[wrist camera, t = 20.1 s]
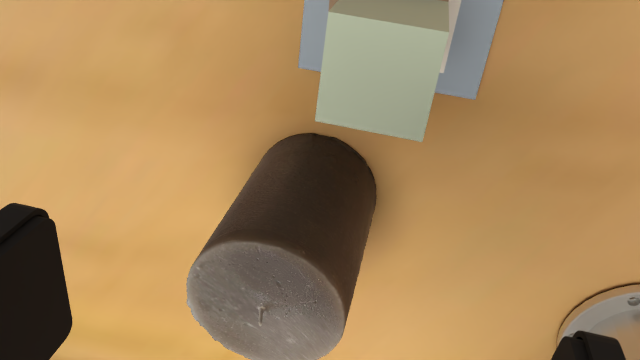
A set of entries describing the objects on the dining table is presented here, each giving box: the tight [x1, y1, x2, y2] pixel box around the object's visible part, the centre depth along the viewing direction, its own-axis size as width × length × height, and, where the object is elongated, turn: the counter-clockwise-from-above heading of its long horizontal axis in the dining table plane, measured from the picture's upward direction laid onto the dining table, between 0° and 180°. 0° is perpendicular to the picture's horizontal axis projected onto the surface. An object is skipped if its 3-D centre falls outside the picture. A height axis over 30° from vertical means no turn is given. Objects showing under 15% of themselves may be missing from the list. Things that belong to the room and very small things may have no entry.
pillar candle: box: [187, 134, 376, 360], centre depth 36 cm, size 10×10×15 cm
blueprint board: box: [298, 0, 503, 100], centre depth 33 cm, size 12×10×1 cm
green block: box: [315, 0, 449, 142], centre depth 26 cm, size 5×5×6 cm
